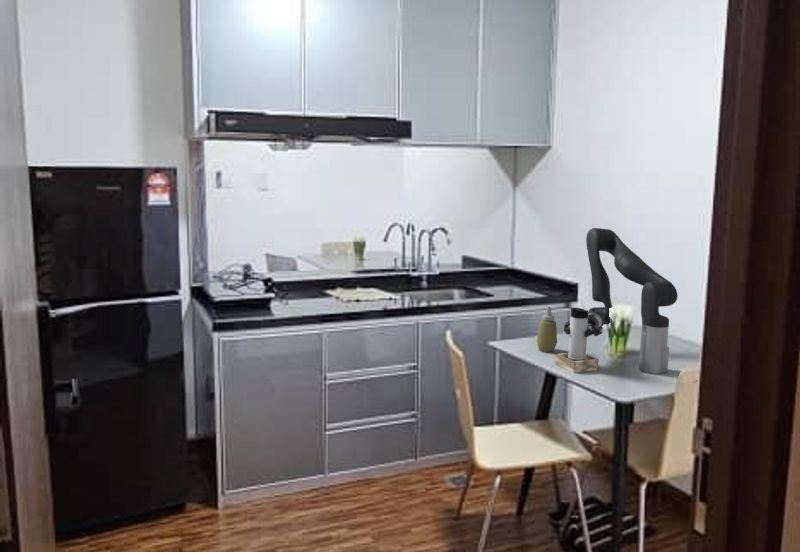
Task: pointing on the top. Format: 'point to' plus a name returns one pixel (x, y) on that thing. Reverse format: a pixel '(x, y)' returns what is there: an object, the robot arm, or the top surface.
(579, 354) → the travel mug
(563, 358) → the birch dock
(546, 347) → the squeeze bottle
